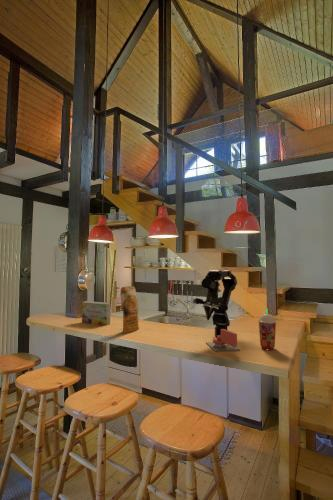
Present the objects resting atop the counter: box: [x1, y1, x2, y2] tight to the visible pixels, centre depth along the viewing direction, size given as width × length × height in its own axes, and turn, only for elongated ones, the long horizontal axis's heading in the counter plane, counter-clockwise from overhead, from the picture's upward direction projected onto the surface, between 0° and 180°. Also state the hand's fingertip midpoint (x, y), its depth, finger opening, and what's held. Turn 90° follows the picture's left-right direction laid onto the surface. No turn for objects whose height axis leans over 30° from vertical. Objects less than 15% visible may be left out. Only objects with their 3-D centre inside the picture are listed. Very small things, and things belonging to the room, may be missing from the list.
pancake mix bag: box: [120, 285, 140, 334], centre depth 175 cm, size 7×19×28 cm, turn 152°
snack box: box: [81, 300, 111, 326], centre depth 196 cm, size 21×6×15 cm, turn 67°
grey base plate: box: [205, 341, 241, 352], centre depth 141 cm, size 13×14×3 cm
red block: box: [212, 329, 238, 347], centre depth 137 cm, size 16×7×7 cm, turn 24°
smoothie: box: [258, 308, 277, 351], centre depth 139 cm, size 8×8×20 cm
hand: (207, 320), depth 150 cm, fingers closed
